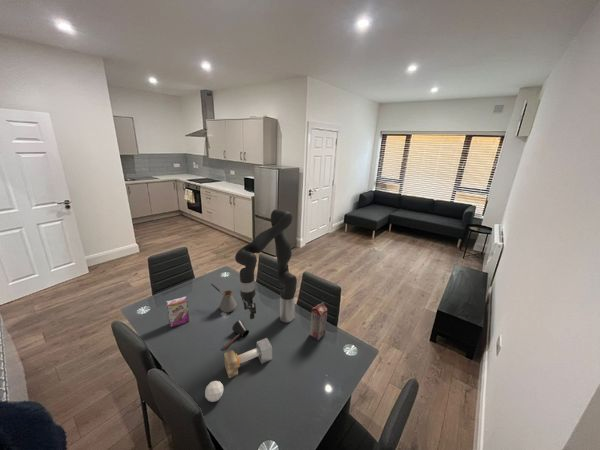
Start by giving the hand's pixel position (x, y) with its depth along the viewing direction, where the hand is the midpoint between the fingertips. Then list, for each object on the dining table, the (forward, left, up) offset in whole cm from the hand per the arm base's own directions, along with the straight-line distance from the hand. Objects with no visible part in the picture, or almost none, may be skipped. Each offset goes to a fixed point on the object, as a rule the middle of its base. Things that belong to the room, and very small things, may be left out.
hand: (249, 313), depth 127 cm
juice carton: (-40, +9, -24) cm, 47 cm away
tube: (+3, +9, -22) cm, 24 cm away
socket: (+13, +9, -24) cm, 28 cm away
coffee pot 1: (+4, -44, -24) cm, 51 cm away
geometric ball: (+23, +19, -24) cm, 38 cm away
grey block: (-5, +9, -24) cm, 26 cm away
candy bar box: (+32, -40, -24) cm, 57 cm away
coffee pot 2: (+5, -12, -24) cm, 28 cm away
